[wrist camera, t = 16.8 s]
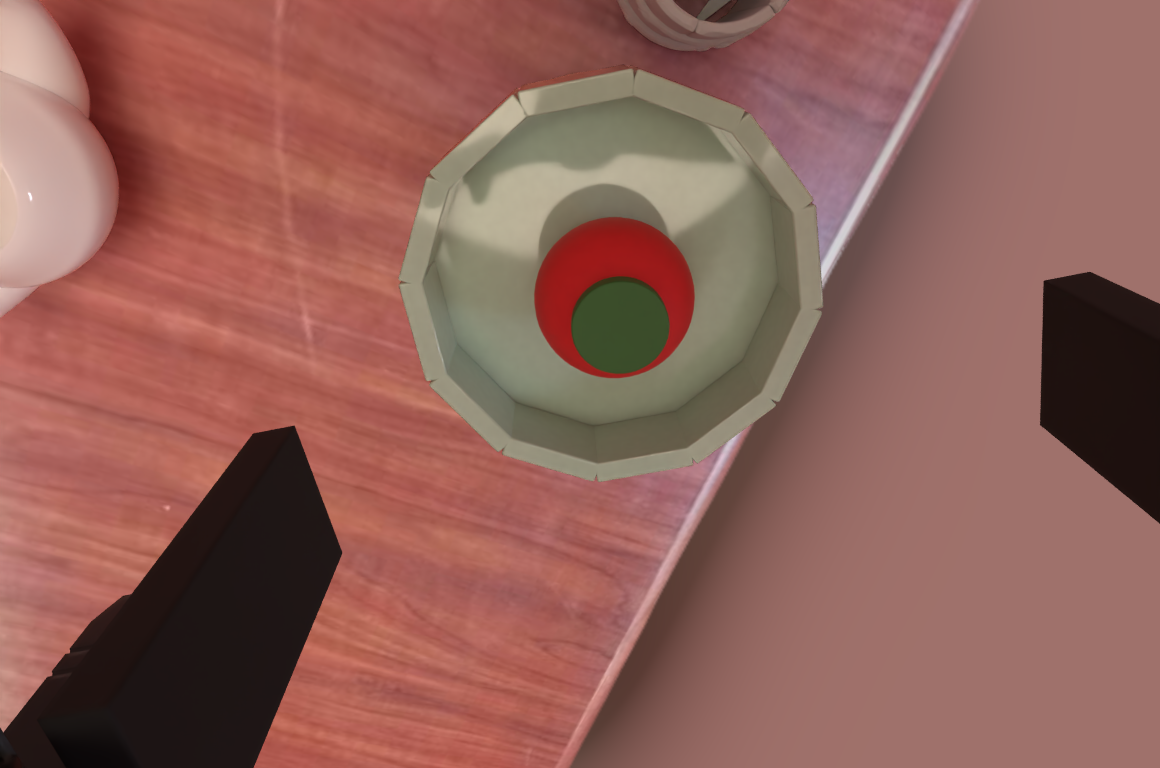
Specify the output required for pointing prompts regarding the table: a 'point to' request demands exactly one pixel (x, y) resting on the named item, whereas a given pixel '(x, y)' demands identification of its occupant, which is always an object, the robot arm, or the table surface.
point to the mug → (697, 22)
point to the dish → (599, 190)
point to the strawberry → (614, 297)
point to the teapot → (47, 157)
